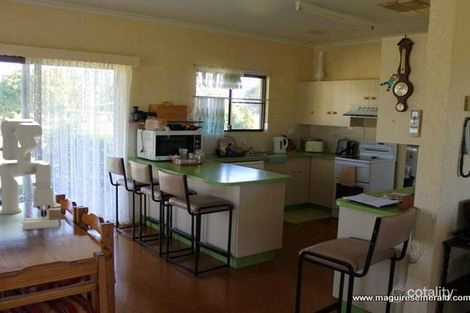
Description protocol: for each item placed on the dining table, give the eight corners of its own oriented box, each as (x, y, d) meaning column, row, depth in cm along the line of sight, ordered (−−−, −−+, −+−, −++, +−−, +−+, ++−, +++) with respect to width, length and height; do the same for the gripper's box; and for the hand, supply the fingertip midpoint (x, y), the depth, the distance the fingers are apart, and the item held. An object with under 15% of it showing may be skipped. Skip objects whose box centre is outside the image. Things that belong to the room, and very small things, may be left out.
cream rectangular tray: (23, 225, 237) (23, 218, 236) (58, 223, 244) (58, 216, 244) (22, 229, 229) (22, 222, 229) (58, 226, 237) (58, 219, 236)
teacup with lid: (63, 221, 249) (62, 201, 247) (46, 223, 243) (46, 203, 242) (58, 216, 258) (58, 197, 257) (42, 218, 253) (41, 199, 252)
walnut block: (49, 222, 240) (48, 208, 240) (60, 221, 243) (60, 207, 242) (49, 224, 236) (49, 210, 235) (60, 223, 238) (60, 209, 238)
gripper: (28, 186, 228) (28, 219, 230) (58, 185, 234) (58, 217, 236) (28, 184, 235) (29, 216, 237) (57, 183, 241) (58, 214, 243)
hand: (43, 217), depth 237 cm, fingers closed
